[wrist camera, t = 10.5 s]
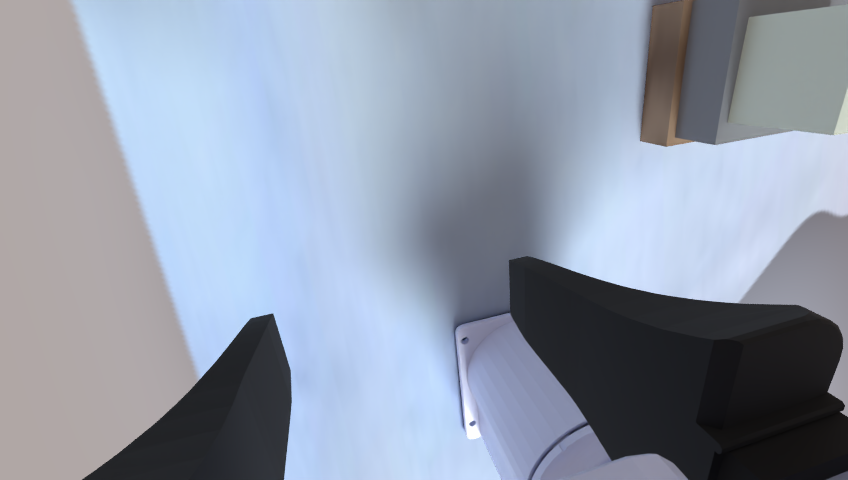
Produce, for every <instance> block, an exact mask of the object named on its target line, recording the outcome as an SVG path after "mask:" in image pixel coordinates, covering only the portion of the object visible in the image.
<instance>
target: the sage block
mask: <svg viewBox="0 0 848 480" xmlns="http://www.w3.org/2000/svg"><path fill="white" fill-rule="evenodd" d="M728 123H734V124H743V125H751V126H760V127H768V128H777V129H785V130H794V131H802V132H811V133H819V134H828V135H838V134H845V133H848V4H846V5H838V6H831V7H823V8H815V9H808V10H800V11H792V12H784V13H777V14H769V15H761V16H754V17H749V19H748V24H747V29H746V34H745V39H744V43H743V48H742V53H741V58H740V63H739V68H738V73H737V78H736V83H735V88H734V93H733V98H732V103H731V108H730V113H729V118H728Z"/></svg>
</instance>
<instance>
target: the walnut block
mask: <svg viewBox="0 0 848 480" xmlns="http://www.w3.org/2000/svg"><path fill="white" fill-rule="evenodd" d="M693 1H695V0H681V1H676V2H671V3H665V4H660V5H655V6H653V9H652V20H651V31H650V41H649V52H648V63H647V73H646V84H645V95H644V105H643V116H642V127H641V137H640V141H642V142H647V143H652V144H656V145H661V146H666V147H667V146H673V145H678V144H684V143H689V142H695V141H691V140H685V139H680V138H675V133H676V125H677V117H678V110H679V102H680V95H681V87H682V79H683V72H684V64H685V57H686V49H687V41H688V34H689V26H690V18H691V11H692V3H693Z"/></svg>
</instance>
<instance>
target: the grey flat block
mask: <svg viewBox="0 0 848 480" xmlns="http://www.w3.org/2000/svg"><path fill="white" fill-rule="evenodd" d="M846 4H848V0H695V1H693V3H692V11H691V18H690V26H689V34H688V41H687V49H686V57H685V64H684V72H683V79H682V87H681V95H680V102H679V110H678V117H677V125H676V133H675V138H680V139H685V140H691V141H696V142H702V143H707V144H713V145H717V144H723V143H728V142H734V141H739V140H745V139H750V138H756V137H761V136H767V135H772V134H778V133H783V132H789V131H794V130H785V129H777V128H768V127H760V126H751V125H743V124H734V123H728V118H729V113H730V108H731V103H732V98H733V93H734V88H735V83H736V78H737V73H738V68H739V63H740V58H741V53H742V48H743V43H744V39H745V34H746V29H747V24H748V19H749V17H754V16H761V15H769V14H777V13H784V12H792V11H800V10H808V9H815V8H823V7H831V6H838V5H846Z"/></svg>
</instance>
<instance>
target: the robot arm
mask: <svg viewBox="0 0 848 480" xmlns="http://www.w3.org/2000/svg"><path fill="white" fill-rule="evenodd" d="M509 275H510V313H507V314H503V315H499V316H495V317H490V318H486V319H482V320H478V321H474V322H470V323H466V324H462V325H460V326H458V327H457V329H456V331H455V336H456V346H457V356H458V366H459V377H460V387H461V397H462V407H463V418H464V428H465V434H466V436H467V438H468V439H475V438H478V437H482V439H483V441H484V443H485V445H486V447H487V450H488V452H489V454H490V456H491V458H492V460H493V463H494V465H495V467H496V469H497V471H498V473H499V475H500V478H501V480H848V417H847V416H845V415H843V414H842V413H841V412H840V411H843V410H844V407H845V405H844V403H843V402H842V401H841V400H839V399H838V398H836V397H834V396H833V395H831V394H830V393H828V392H827V391H828V389H829V386H830V383H831V381H832V379H833V376H834V373H835V371H836V368H837V365H838V363H839V360H840V357H841V353H842V349H843V337H842V334H841V332H840V329H839V327H838V325H836V324H835V323H833V322H832V321H831V320H829V319H827V318H824V317H822V316H820V315H818V314H816V313H814V312H812V311H810V310H808V309H806V308H804V307H801V306H798V305H768V304H767V305H766V304H738V303H724V302H712V301H702V300H693V299H687V298H680V297H673V296H666V295H661V294H655V293H650V292H646V291H641V290H636V289H632V288H628V287H624V286H620V285H616V284H613V283H609V282H606V281H602V280H599V279H596V278H592V277H589V276H586V275H583V274H580V273H577V272H574V271H571V270H569V269H566V268H563V267H560V266H557V265H554V264H551V263H548V262H545V261H542V260H539V259H536V258H532V257H528V256H526V257H522V258H517V259H513V260H509ZM464 337H467V338H466V340H464V341H461V340H462V339H463V338H464ZM291 403H292V398H291V371H290V367H289V364H288V361H287V357H286V354H285V351H284V347H283V344H282V341H281V338H280V334H279V331H278V328H277V325H276V321H275V318H274V315H273V314H268V315H264V316H259V317H255V318H251V319H250V320H249V321H248V322H247V323H246V325H245V326H244V327H243V328H242V330H241V331H240V332H239V334H238V335H237V336H236V337H235V339H234V340H233V341H232V342H231V344H230V345H229V346H228V347H227V349H226V350H225V351H224V352H223V354H222V355H221V356H220V357H219V359H218V360H217V361H216V362H215V363H214V364H213V366H212V367H211V368H210V369H209V370H208V371H207V372H206V373H205V374H204V376H203V377H202V378H201V379H200V380H199V381H198V382H197V383H196V384H195V386H194V387H193V388H192V389H191V390H190V391H189V392H188V393H187V394H186V395H185V396H184V397H183V398H182V399H181V400H180V401H179V402H178V403H177V404H176V405H175V406H174V407H173V408H172V409H170V410H169V411H168V412H167V413H166V414H165V415H164V416H163V417H162V418H161V419H160V420H159V421H157V423H155V424H154V425H153V426H152V427H151V428H149V429H148V430H147V431H145V432H144V433H143V434H142V435H140V436H139V437H138V438H137V439H135V440H134V441H133V442H132V443H131V444H129V445H128V446H127V447H126V448H124V449H123V450H122V451H121V452H119V453H118V454H117V455H116V456H114V457H113V458H112V459H110V460H109V461H108V462H106V463H105V464H103V465H102V466H101V467H99V468H98V469H97V470H95V471H94V472H93V473H91V474H89V475H88V476H87V477H85V478H84V479H82V480H284V473H285V463H286V453H287V444H288V434H289V424H290V414H291ZM471 421H472V422H471Z"/></svg>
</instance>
